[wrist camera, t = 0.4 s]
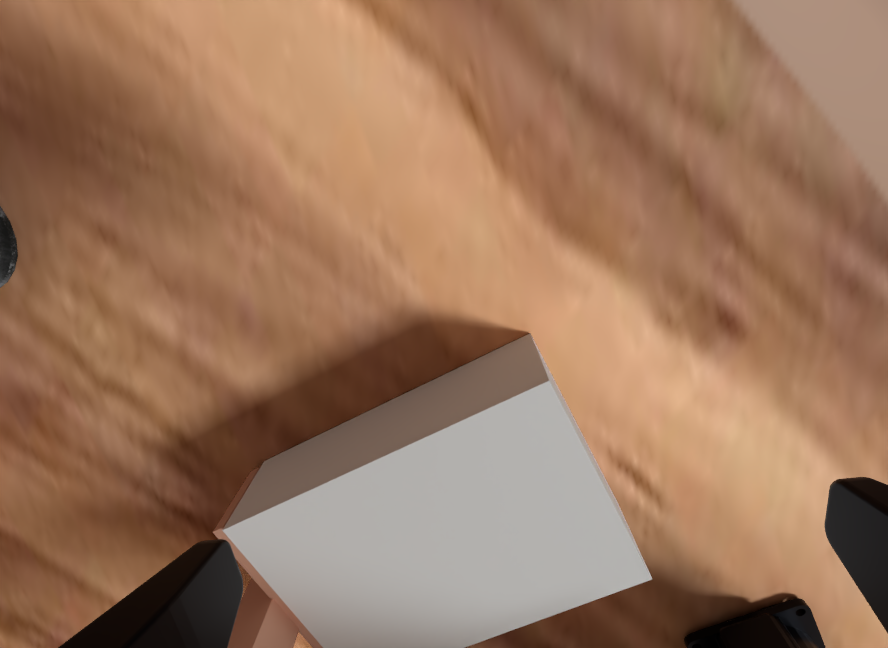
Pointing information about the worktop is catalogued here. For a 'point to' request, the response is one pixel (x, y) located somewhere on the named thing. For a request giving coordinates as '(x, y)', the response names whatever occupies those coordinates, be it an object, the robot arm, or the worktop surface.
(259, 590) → the mailer tray
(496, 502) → the sleeve
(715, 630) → the robot arm
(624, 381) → the worktop surface
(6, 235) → the grey figurine
